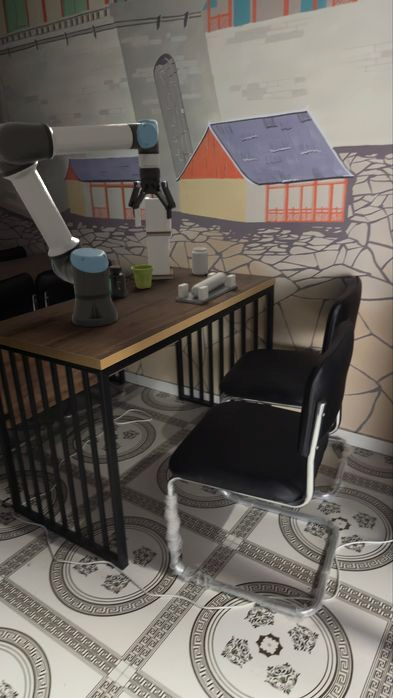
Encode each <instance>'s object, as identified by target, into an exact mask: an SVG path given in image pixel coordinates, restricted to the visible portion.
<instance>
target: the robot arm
mask: <svg viewBox="0 0 393 698" xmlns="http://www.w3.org/2000/svg"><path fill="white" fill-rule="evenodd" d="M158 125H159V124H158V121H157V120H155V119H138V120H137V121H136V123H114V124H111V123H109V124H92V125H91V124H90V125H89V124H88V125H87V124H86V125H70V126H50V125H49V124H48V123H30V122H21V121H9V122H8V121H7V122H5V123H0V174H1V175H2V177H3V179H6V180H9V181H10V182H11V183H12V185H13V187H14V188H15V190H16V192H17V194H18V195H19V197H20V199H21V201H22V202H23V204H24V206H25V208H26V210H27V211H28V213H29V215H30V216H31V219H32V220H33V222H34V224H35V225H36V227H37V229H38V231H39V232H40V234H41V235H42V238H43V239H44V241H45V243H46V244H47V246H48V252H47V255H48V257H49V259H50V260H51V268H52V270H53V272H54V274H55V275H56V276H58V278H59V279H61V280H62V281H64V282H67V283H69V284H72V285H73V288H74V289H73V290H74V305H73V312H72V314H71V320H72V324H73V325H76V326H78V327H88V328H89V327H91V328H92V327H93V328H94V327H102V326H106V325H111V324H113V323H115V322H116V321H118V319H119V315H118V311H117V308H115V304H114V301H113V298H111V294H110V281H109V273H110V272H109V259H108V256H107V253H106V252H105V251H104V250H103V249H99V248H93V247H84V246H83V245H82V243H81V240H80V239H79V238H77V237H74V236H72V234H71V231H70V230H69V228H68V226H67V224H66V222H65V220H64V219H63V217H62V215H61V213H60V211H59V209H58V208H57V206H56V204H55V201H54V200H53V198H52V196H51V194H50V192H49V190H48V189H47V187H46V185H45V183H44V181H43V179H42V177H41V175H40V174H39V172H38V169H37V166H38V162H40V161H43V160H44V161H45V160H47V161H48V160H53V158H54V157H55V156H60V155H74V154H75V155H76V154H87V153H88V154H89V153H99V152H100V153H101V152H111V151H112V152H113V151H122V150H123V151H125V150H126V151H127V150H137V155H138V166H139V169H138V170H139V171H138V172H139V179H140V180H137V181H136V180H135V181H133V188H132V190H131V195H130V198H129V201H128V203H127V206H128V207H129V208H131V209H132V215H133V218H134V223H135V227H136V228H137V227H138V228H139V227H142V214H141V213H142V212H141V208H140V206H141V204H142V203H143V201H144V199H145V198H146V195H147V196H148V195H155V196H156V197H157V198H158V199H159V200H160V202H161V203H162V204H163V206H164V207H165V210H164V225H165V229H167V228H171V229H172V226H171V227H170V219H171V220H172V218H173V216H172V214H173V213H172V210H173V209H175V208H177V205H176V202H175V200H174V197H173V196H172V193H171V190H170V188H169V182H168V181H167V180H163V181H161V168H160V167H159V166H161V164H160V163H161V162H160V161H161V160H160V141H159V139H160V137H159V135H160V133H159V126H158Z"/></svg>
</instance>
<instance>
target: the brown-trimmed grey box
mask: <svg viewBox="0 0 393 698" xmlns="http://www.w3.org/2000/svg"><path fill="white" fill-rule="evenodd" d="M143 201H144V212H145V214H144V216H145V217H144V218H145V230H146V231H145V232H146V248H147V249H146V252H147V265H152V266H154V268H153V271H152V279H151V280H168V279H169V280H172V279H173V278H174V269H172V268H170V267H171V266H170V252H171V243H170V240H171V239H172V237H173V234H172V233H173V232H172V218H171V219H170V227H171V228H167V229H165V225H164V210H165V207H164V206H163V204H162V203H161V202H160V200H159V199H158V197H157V198H152V197H151V198H150V197H148V196H147V197H146V196H145V197H144V199H143Z"/></svg>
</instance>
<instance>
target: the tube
mask: <svg viewBox="0 0 393 698" xmlns="http://www.w3.org/2000/svg"><path fill="white" fill-rule="evenodd" d="M227 276H228V275H227V274H226V273H225V272H220V271H218V272H216V274H215V275H213V276H211V277H209V278H208V277H207V278H205V279H204V280H202V281H200V282H198V283H197V284H196V283H195V284H194V285H193V286H192V288H191V289H190V292H191V294H192V295H193V296H194V297H196V298H198V288H200V287H202V286H208V293H209V292H211V291H212V290H214V289H216V288H218V287H219V286H221V285H224V284H225V283H227Z"/></svg>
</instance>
